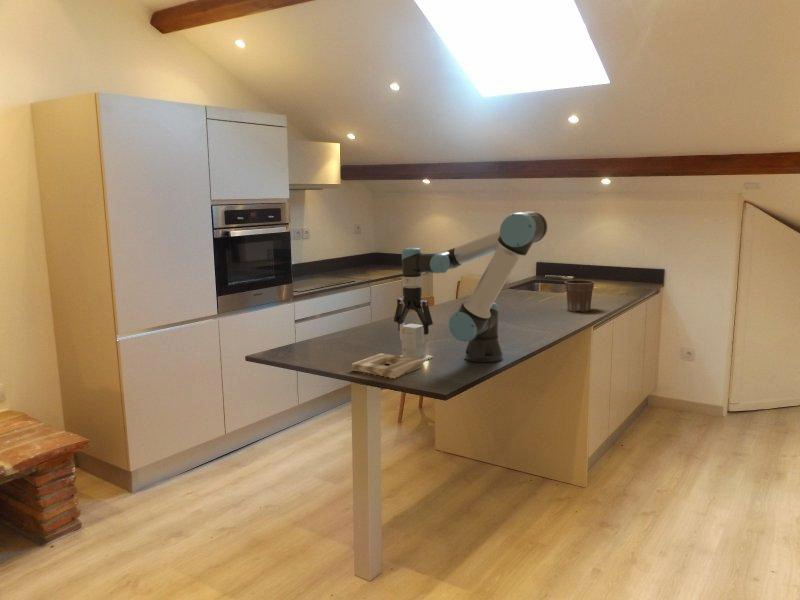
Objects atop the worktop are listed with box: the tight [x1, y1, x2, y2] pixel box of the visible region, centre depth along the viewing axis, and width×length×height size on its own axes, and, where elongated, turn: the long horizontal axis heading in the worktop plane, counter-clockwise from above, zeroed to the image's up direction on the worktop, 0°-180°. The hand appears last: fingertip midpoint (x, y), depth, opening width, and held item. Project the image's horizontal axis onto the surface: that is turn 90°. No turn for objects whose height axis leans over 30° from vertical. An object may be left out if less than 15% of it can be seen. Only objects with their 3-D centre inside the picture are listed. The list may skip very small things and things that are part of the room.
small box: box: [401, 323, 427, 359], centre depth 254 cm, size 8×6×13 cm
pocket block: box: [351, 352, 423, 379], centre depth 241 cm, size 20×18×3 cm
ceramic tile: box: [400, 354, 434, 363], centre depth 255 cm, size 12×10×1 cm
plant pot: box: [564, 279, 596, 313], centre depth 347 cm, size 16×16×16 cm
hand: (413, 340), depth 254 cm, fingers open, 10 cm apart
